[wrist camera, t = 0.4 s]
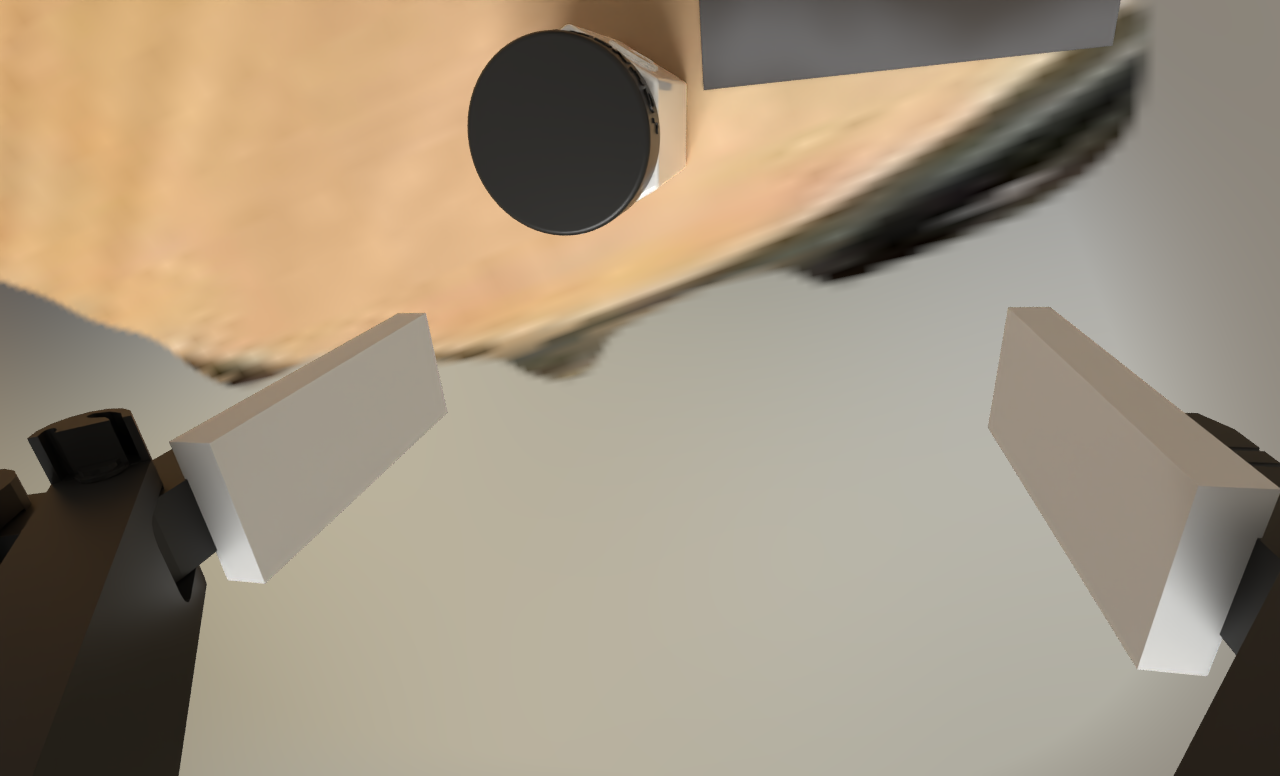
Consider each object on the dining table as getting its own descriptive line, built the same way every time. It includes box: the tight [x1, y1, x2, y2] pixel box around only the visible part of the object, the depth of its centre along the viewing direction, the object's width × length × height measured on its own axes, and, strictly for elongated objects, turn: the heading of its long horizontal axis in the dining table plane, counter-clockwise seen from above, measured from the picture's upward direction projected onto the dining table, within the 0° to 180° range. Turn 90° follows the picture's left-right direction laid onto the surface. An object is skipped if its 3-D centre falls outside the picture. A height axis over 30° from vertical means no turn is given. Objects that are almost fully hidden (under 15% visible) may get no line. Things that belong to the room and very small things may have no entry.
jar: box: [468, 24, 687, 235], centre depth 32 cm, size 9×8×12 cm
